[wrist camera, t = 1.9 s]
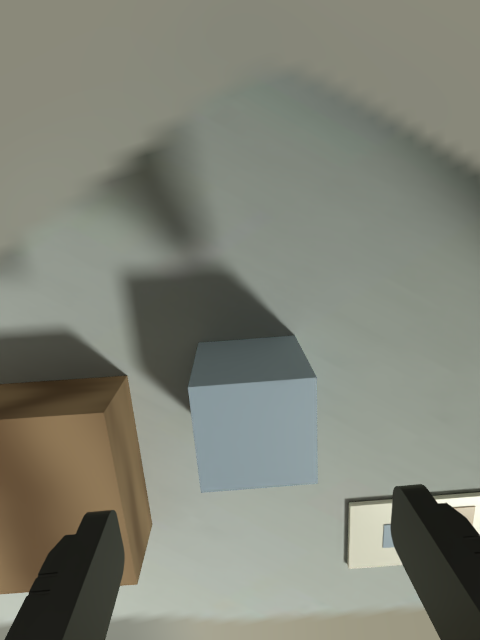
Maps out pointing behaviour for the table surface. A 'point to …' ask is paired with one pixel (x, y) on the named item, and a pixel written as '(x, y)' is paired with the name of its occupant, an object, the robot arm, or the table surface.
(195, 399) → the top brick
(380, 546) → the page
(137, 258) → the table surface
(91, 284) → the table surface
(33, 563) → the base brick
